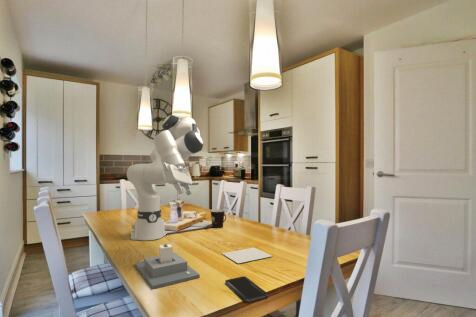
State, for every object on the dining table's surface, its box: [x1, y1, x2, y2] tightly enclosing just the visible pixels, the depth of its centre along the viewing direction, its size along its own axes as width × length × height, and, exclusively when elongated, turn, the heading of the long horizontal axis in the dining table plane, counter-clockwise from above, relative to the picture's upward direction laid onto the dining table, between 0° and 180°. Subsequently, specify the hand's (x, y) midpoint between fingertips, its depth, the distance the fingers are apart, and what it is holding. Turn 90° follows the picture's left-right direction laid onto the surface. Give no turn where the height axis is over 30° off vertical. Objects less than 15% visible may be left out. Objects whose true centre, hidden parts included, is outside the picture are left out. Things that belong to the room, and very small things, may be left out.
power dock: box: [134, 252, 200, 290], centre depth 100 cm, size 24×16×4 cm, turn 33°
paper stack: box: [222, 247, 272, 264], centre depth 111 cm, size 23×25×1 cm
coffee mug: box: [210, 209, 227, 229], centre depth 168 cm, size 12×9×10 cm
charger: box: [158, 243, 173, 264], centre depth 100 cm, size 4×4×8 cm
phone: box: [225, 275, 269, 304], centre depth 86 cm, size 8×1×15 cm
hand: (185, 194), depth 115 cm, fingers open, 8 cm apart
